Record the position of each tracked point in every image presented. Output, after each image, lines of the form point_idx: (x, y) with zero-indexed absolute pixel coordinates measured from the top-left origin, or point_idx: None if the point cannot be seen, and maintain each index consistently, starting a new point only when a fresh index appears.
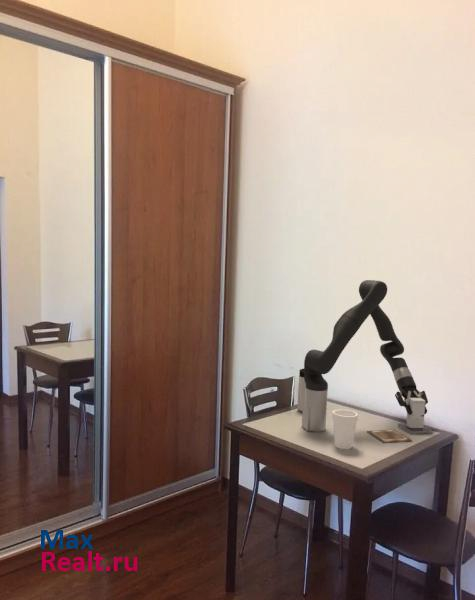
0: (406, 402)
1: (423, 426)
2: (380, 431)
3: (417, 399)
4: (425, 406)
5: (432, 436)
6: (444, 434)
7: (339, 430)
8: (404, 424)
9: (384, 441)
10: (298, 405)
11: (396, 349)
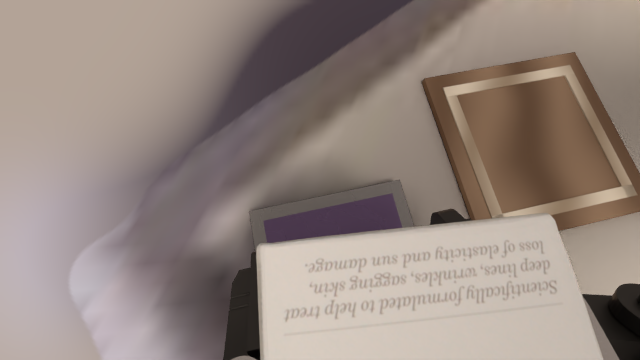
0: (593, 315)
1: None
2: (580, 197)
3: (429, 303)
4: (228, 336)
5: (277, 160)
6: (180, 199)
7: None
8: None
9: (568, 57)
10: None
11: None
